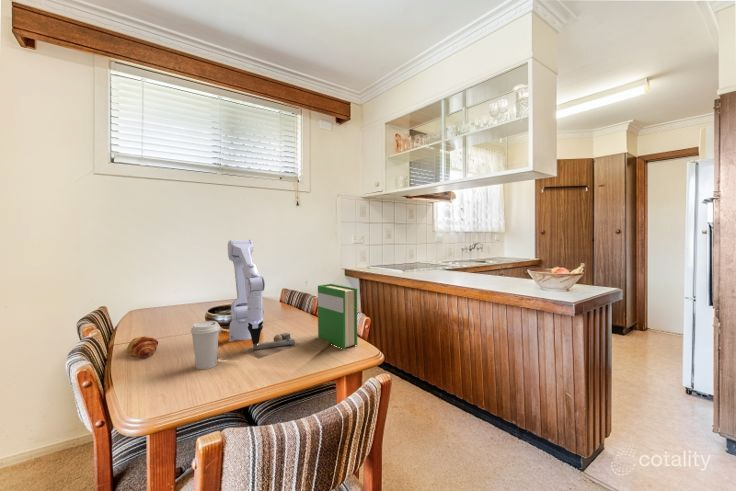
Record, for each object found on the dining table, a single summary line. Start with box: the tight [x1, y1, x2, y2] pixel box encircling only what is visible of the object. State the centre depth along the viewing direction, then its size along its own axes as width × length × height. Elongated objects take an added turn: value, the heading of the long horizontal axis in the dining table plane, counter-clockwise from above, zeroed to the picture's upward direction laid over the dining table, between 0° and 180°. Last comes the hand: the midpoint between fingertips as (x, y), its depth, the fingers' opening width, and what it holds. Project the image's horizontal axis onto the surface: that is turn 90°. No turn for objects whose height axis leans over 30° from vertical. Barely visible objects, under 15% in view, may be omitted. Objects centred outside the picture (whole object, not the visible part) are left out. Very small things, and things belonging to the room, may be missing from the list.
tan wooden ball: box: [273, 334, 283, 341], centre depth 136 cm, size 4×4×4 cm
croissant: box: [126, 335, 159, 359], centre depth 130 cm, size 21×10×8 cm, turn 44°
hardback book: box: [317, 283, 358, 350], centre depth 140 cm, size 18×7×24 cm, turn 43°
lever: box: [252, 337, 296, 350], centre depth 132 cm, size 16×2×6 cm, turn 113°
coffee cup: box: [189, 320, 221, 370], centre depth 116 cm, size 10×10×15 cm
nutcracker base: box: [241, 332, 301, 359], centre depth 131 cm, size 20×12×4 cm, turn 141°
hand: (255, 341), depth 130 cm, fingers open, 4 cm apart
